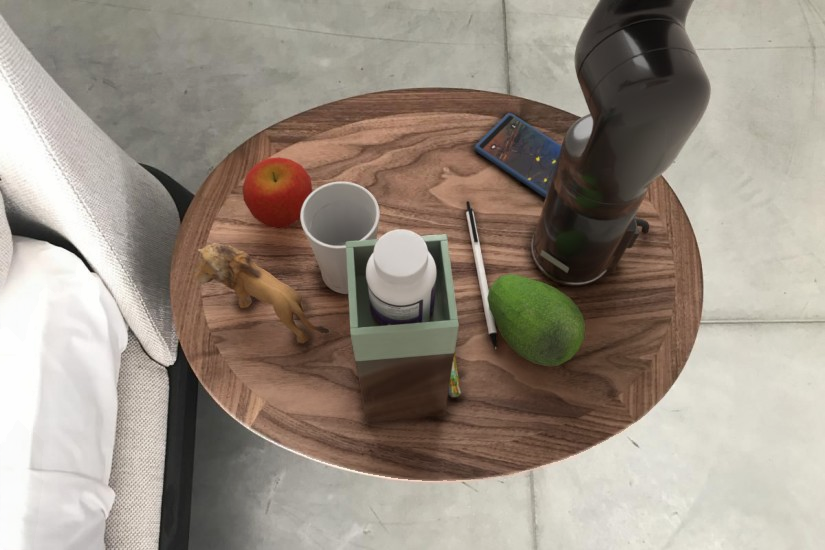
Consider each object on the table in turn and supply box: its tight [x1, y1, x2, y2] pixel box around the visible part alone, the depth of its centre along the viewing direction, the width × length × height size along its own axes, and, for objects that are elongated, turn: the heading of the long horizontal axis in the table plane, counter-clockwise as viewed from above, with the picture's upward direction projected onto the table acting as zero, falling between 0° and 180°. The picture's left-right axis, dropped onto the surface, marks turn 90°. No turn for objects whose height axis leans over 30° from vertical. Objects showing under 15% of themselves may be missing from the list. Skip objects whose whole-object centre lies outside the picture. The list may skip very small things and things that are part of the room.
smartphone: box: [473, 112, 562, 199], centre depth 90 cm, size 8×1×15 cm
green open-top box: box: [346, 233, 460, 423], centre depth 67 cm, size 8×8×24 cm
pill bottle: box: [366, 228, 437, 326], centre depth 56 cm, size 5×5×10 cm
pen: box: [465, 200, 498, 350], centre depth 82 cm, size 1×19×1 cm, turn 7°
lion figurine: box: [194, 242, 330, 344], centre depth 77 cm, size 15×5×9 cm, turn 66°
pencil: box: [448, 352, 462, 398], centre depth 80 cm, size 1×1×18 cm
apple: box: [242, 156, 313, 230], centre depth 83 cm, size 8×8×8 cm
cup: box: [299, 181, 380, 295], centre depth 78 cm, size 8×8×12 cm
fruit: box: [487, 273, 586, 367], centre depth 76 cm, size 8×8×12 cm
